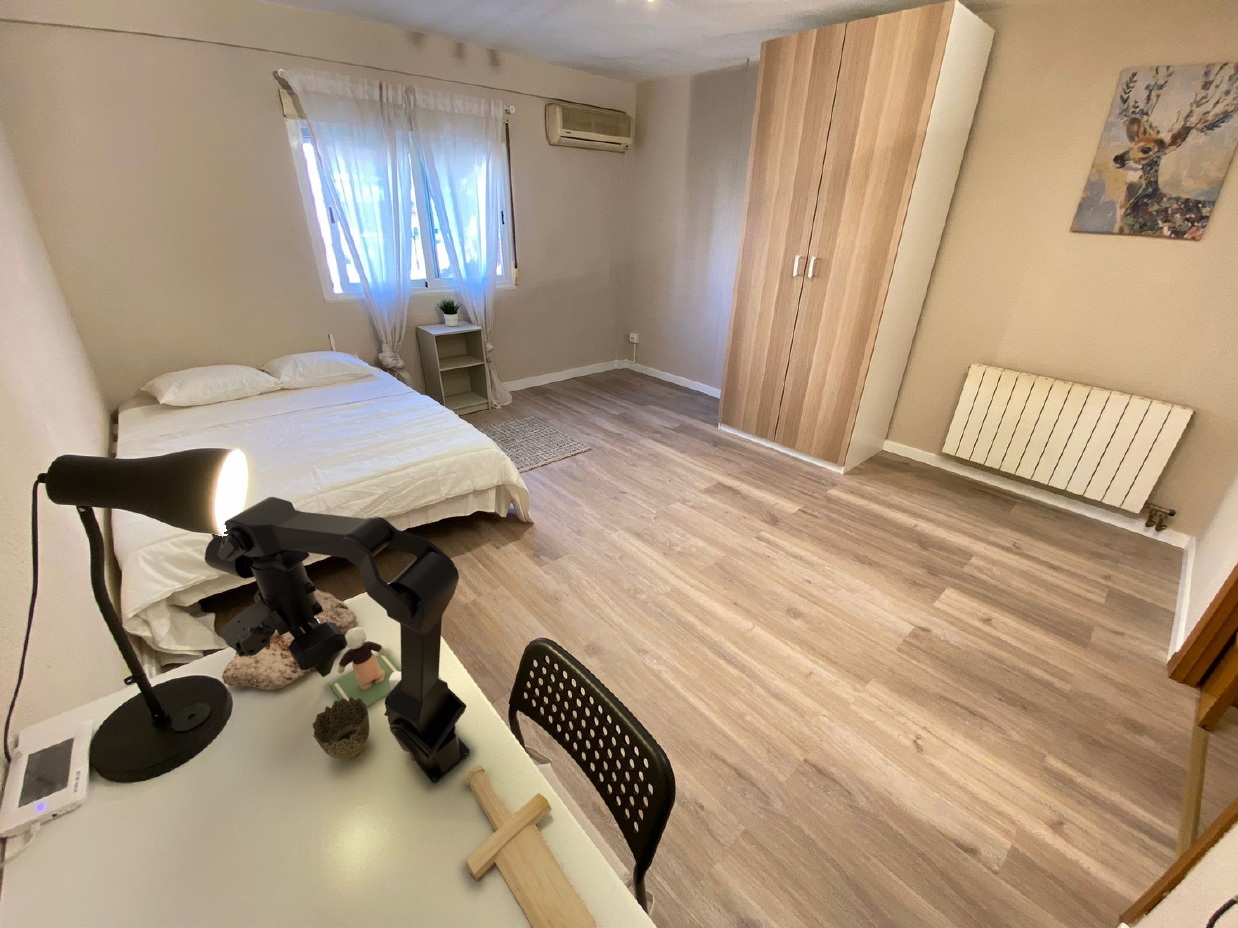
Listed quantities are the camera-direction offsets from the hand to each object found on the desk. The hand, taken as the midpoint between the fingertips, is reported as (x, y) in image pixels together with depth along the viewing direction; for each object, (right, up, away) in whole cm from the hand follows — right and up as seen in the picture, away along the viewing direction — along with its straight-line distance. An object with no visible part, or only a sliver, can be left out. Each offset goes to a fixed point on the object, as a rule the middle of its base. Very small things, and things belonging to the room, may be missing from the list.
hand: (313, 657), depth 79 cm
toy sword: (+26, -16, -4) cm, 31 cm away
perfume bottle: (+15, -12, +7) cm, 20 cm away
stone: (-19, 0, +17) cm, 26 cm away
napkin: (+3, -9, +11) cm, 15 cm away
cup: (+6, -15, +1) cm, 16 cm away
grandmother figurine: (+3, -9, +11) cm, 14 cm away
